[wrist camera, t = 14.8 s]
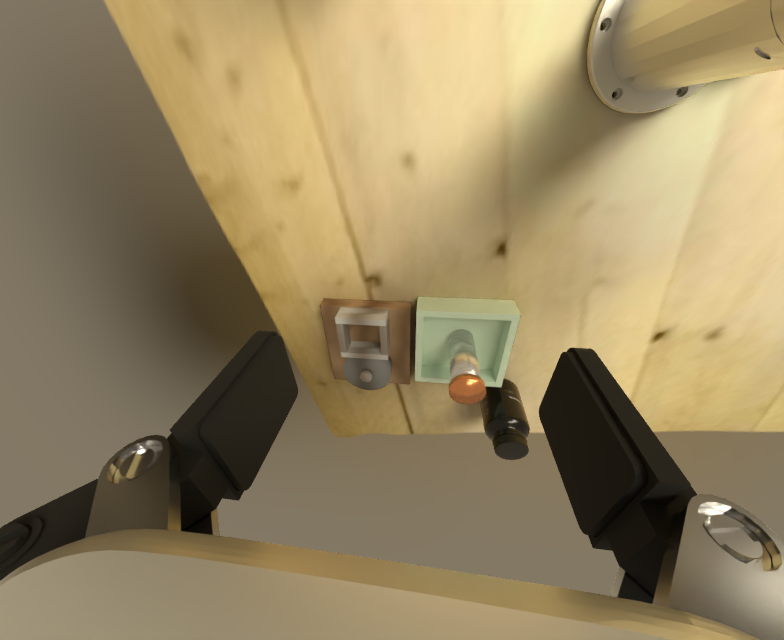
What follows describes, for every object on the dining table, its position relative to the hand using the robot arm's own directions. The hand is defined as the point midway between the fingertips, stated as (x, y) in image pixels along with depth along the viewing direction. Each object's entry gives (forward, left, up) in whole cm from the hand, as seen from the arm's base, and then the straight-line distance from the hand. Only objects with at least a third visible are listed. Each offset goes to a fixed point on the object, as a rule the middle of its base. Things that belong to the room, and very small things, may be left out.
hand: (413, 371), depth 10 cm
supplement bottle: (-14, +33, -31) cm, 47 cm away
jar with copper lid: (-6, +21, -29) cm, 36 cm away
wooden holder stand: (+9, +23, -30) cm, 39 cm away
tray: (-6, +21, -30) cm, 37 cm away
